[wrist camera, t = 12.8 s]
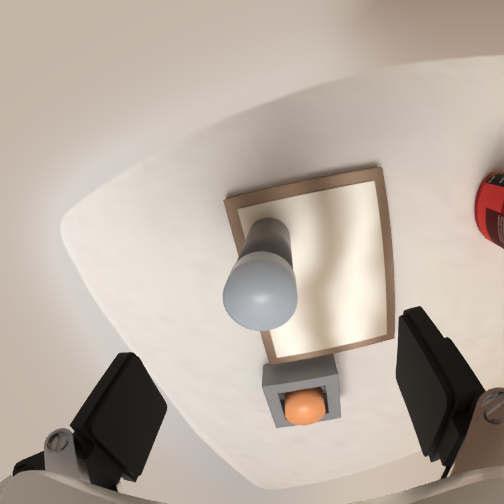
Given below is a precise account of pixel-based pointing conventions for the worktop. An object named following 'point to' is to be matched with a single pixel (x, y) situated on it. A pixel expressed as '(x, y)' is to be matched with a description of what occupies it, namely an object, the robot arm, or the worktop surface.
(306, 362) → the button housing
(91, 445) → the robot arm
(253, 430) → the worktop surface
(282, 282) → the grey tall cylinder
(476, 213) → the canned food
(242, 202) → the board
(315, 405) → the button
